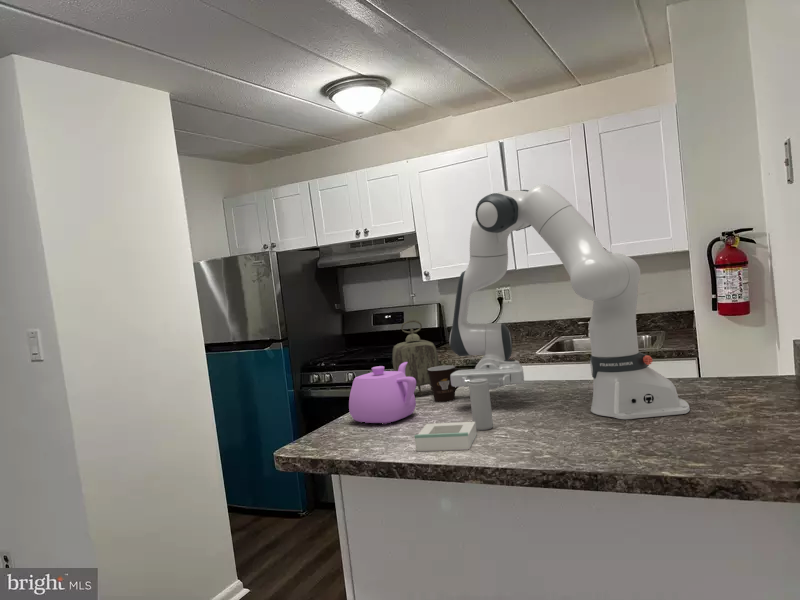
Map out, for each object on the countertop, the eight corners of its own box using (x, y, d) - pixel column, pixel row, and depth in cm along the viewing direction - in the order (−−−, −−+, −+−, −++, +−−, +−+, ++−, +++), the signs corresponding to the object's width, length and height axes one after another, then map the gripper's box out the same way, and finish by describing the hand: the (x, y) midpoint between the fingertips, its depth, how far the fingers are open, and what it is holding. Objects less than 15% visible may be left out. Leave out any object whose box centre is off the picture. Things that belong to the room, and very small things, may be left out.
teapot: (402, 429, 151) (395, 372, 150) (341, 425, 163) (335, 372, 163) (447, 408, 169) (441, 357, 169) (389, 406, 182) (384, 358, 181)
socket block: (476, 434, 138) (475, 419, 138) (469, 449, 127) (467, 433, 127) (427, 436, 142) (426, 421, 142) (416, 451, 130) (414, 435, 130)
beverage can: (492, 430, 140) (487, 381, 140) (473, 431, 141) (467, 382, 141) (493, 425, 145) (488, 377, 144) (474, 426, 146) (469, 378, 145)
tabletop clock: (438, 389, 199) (429, 317, 198) (443, 394, 190) (434, 318, 189) (396, 395, 197) (387, 322, 196) (399, 400, 188) (391, 323, 187)
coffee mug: (427, 403, 179) (423, 371, 179) (436, 396, 187) (432, 366, 187) (463, 402, 175) (459, 369, 174) (471, 395, 182) (467, 364, 182)
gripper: (453, 364, 171) (444, 373, 157) (524, 360, 165) (521, 368, 152) (455, 385, 171) (447, 396, 158) (526, 382, 165) (523, 392, 152)
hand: (484, 382), depth 155 cm, fingers open, 8 cm apart
